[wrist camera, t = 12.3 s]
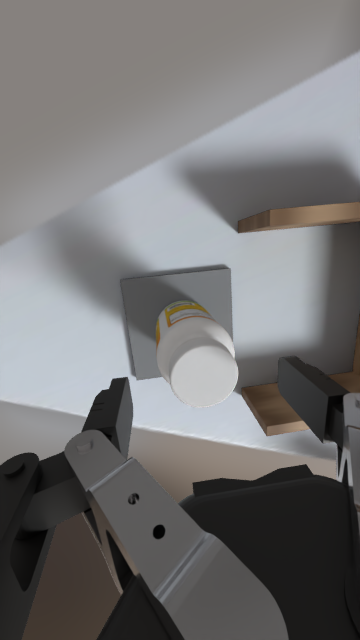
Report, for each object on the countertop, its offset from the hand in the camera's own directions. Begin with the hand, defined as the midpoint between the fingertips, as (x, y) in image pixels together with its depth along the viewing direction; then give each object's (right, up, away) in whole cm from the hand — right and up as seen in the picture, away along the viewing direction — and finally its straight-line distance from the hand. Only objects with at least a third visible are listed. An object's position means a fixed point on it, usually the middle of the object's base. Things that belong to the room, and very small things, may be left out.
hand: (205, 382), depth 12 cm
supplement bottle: (-1, +3, +10) cm, 11 cm away
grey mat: (-1, +3, +11) cm, 11 cm away
